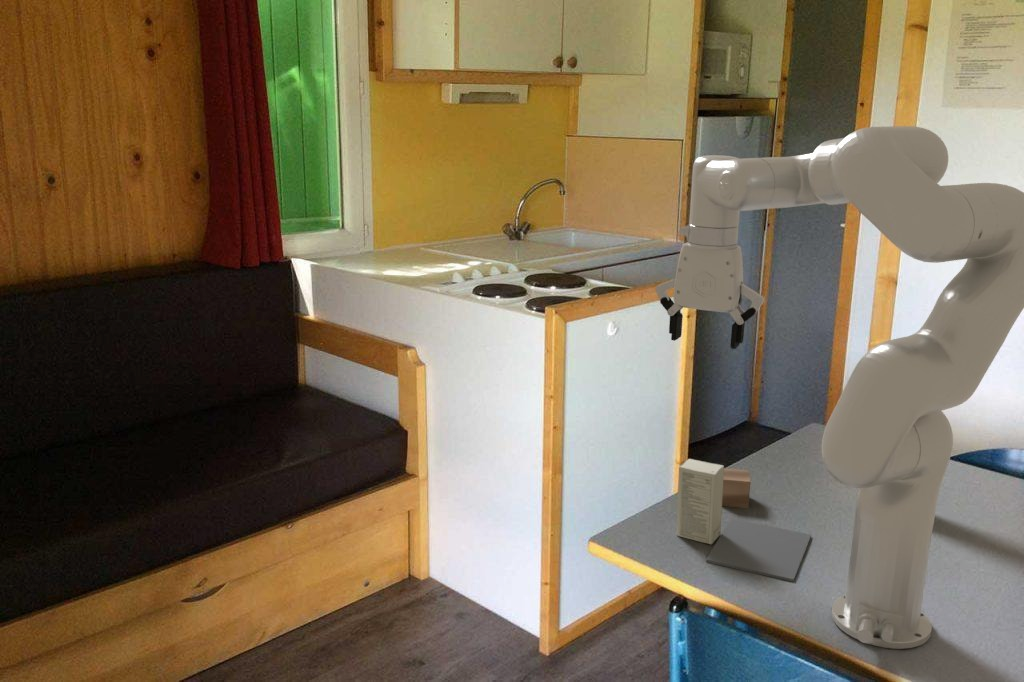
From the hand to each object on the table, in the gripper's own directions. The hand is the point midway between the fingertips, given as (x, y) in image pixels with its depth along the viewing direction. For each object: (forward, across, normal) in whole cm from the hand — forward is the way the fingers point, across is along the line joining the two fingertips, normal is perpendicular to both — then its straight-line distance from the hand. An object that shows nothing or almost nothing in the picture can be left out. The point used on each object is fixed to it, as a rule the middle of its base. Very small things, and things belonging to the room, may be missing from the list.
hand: (705, 342), depth 148 cm
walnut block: (+31, +4, +10) cm, 33 cm away
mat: (+31, +13, -6) cm, 34 cm away
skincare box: (+31, +3, -6) cm, 31 cm away
